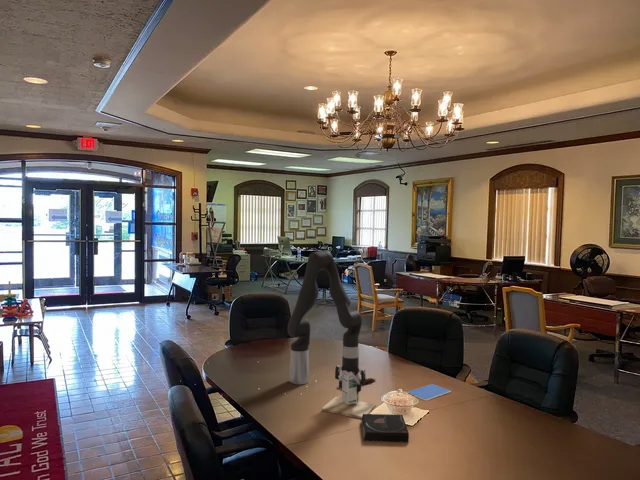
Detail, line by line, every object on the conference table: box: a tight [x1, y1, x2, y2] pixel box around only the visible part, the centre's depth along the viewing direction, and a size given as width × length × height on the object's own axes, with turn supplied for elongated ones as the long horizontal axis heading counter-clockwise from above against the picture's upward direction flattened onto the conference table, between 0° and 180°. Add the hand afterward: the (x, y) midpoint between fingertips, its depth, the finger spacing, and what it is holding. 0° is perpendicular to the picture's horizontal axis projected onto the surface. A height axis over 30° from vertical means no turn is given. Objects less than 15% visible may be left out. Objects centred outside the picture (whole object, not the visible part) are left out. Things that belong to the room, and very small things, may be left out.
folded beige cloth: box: [321, 396, 377, 420], centre depth 206 cm, size 20×15×1 cm
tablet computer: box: [407, 383, 452, 402], centre depth 226 cm, size 19×13×1 cm, turn 126°
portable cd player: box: [361, 413, 410, 443], centre depth 184 cm, size 16×17×4 cm
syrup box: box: [341, 370, 360, 405], centre depth 210 cm, size 6×6×14 cm
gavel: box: [361, 377, 377, 386], centre depth 235 cm, size 21×5×10 cm
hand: (350, 390), depth 210 cm, fingers closed on syrup box, 8 cm apart
